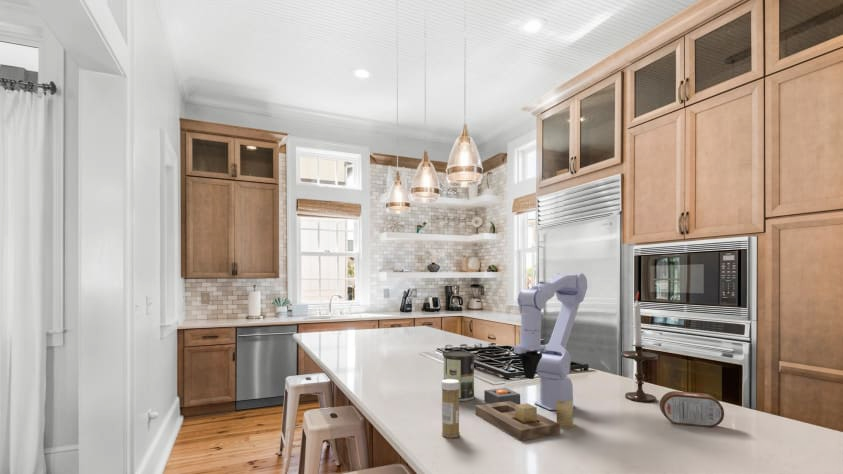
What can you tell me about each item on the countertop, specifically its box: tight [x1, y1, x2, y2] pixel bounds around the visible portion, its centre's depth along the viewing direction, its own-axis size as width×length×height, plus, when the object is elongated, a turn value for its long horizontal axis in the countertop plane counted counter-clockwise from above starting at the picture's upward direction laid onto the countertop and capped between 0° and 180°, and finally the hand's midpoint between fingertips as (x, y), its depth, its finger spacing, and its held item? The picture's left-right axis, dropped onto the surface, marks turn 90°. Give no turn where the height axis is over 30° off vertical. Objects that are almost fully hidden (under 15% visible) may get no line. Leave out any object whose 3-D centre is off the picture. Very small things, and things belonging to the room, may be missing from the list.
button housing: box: [483, 387, 521, 405], centre depth 139 cm, size 8×8×4 cm
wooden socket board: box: [474, 401, 561, 442], centre depth 120 cm, size 12×22×2 cm, turn 23°
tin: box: [659, 390, 725, 428], centre depth 120 cm, size 15×3×8 cm, turn 72°
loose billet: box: [555, 400, 574, 429], centre depth 120 cm, size 4×4×6 cm
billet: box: [515, 402, 538, 424], centre depth 116 cm, size 4×4×6 cm
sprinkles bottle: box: [441, 379, 461, 439], centre depth 112 cm, size 5×5×13 cm
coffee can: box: [442, 350, 475, 402], centre depth 147 cm, size 10×10×14 cm
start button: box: [496, 388, 508, 395], centre depth 139 cm, size 4×4×2 cm
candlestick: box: [620, 290, 658, 404], centre depth 146 cm, size 11×11×35 cm
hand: (529, 378), depth 128 cm, fingers closed
